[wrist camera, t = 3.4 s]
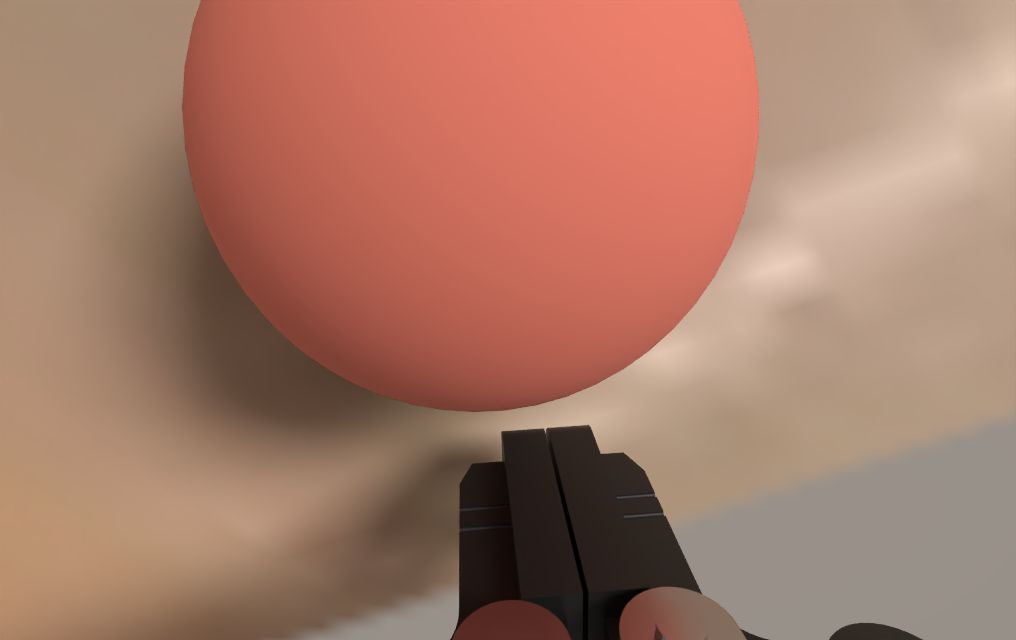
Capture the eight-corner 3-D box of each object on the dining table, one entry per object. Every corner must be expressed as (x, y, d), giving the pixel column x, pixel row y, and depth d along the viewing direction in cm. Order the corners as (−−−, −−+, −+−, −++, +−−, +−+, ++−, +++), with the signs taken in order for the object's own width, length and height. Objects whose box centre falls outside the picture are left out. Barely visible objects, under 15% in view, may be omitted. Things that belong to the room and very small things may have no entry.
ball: (494, 364, 11) (529, 639, 6) (205, 152, 10) (-147, 255, 4) (729, 105, 10) (1075, 141, 4) (440, -200, 8) (402, -803, 3)
